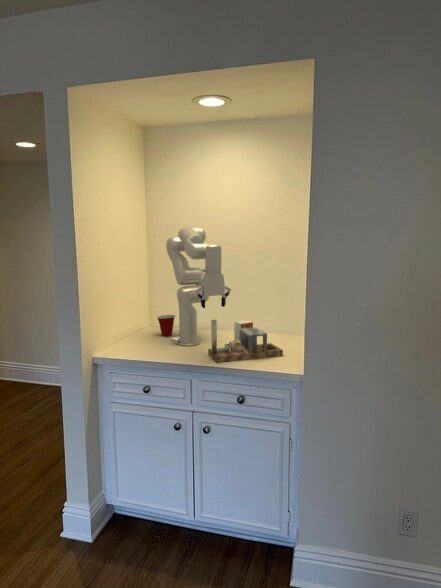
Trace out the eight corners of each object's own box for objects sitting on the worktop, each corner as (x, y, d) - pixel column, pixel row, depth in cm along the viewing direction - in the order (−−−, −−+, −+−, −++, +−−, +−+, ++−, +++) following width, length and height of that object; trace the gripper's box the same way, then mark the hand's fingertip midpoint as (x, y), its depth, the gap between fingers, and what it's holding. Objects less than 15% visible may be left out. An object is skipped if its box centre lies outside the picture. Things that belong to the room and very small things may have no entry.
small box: (240, 347, 225) (240, 323, 223) (234, 345, 231) (233, 321, 229) (253, 345, 230) (253, 321, 228) (246, 343, 235) (246, 319, 233)
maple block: (232, 352, 207) (232, 343, 206) (229, 349, 211) (229, 340, 210) (241, 351, 208) (241, 342, 207) (237, 349, 212) (237, 340, 211)
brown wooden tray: (216, 363, 200) (216, 338, 198) (208, 354, 213) (207, 331, 211) (282, 356, 210) (283, 332, 208) (270, 348, 223) (271, 326, 221)
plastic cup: (164, 332, 261) (164, 313, 259) (179, 334, 255) (178, 314, 254) (153, 336, 252) (152, 316, 250) (168, 338, 246) (167, 318, 244)
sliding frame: (214, 354, 202) (213, 321, 200) (209, 350, 209) (209, 318, 207) (243, 351, 207) (243, 319, 204) (238, 347, 214) (238, 316, 211)
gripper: (197, 272, 194) (197, 309, 197) (233, 271, 200) (233, 307, 202) (193, 270, 201) (193, 306, 204) (228, 269, 207) (228, 304, 209)
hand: (213, 307), depth 203 cm, fingers open, 9 cm apart
